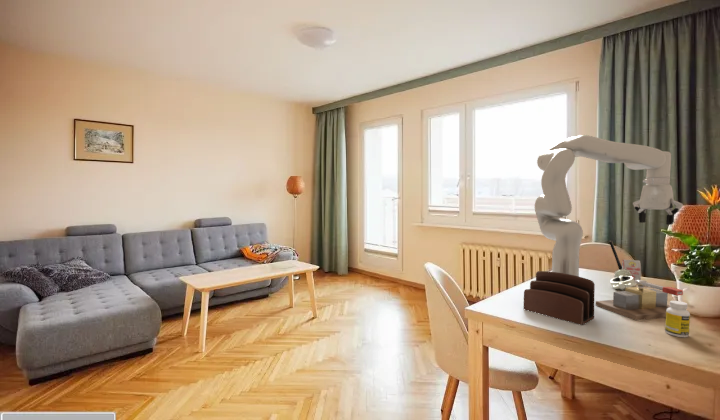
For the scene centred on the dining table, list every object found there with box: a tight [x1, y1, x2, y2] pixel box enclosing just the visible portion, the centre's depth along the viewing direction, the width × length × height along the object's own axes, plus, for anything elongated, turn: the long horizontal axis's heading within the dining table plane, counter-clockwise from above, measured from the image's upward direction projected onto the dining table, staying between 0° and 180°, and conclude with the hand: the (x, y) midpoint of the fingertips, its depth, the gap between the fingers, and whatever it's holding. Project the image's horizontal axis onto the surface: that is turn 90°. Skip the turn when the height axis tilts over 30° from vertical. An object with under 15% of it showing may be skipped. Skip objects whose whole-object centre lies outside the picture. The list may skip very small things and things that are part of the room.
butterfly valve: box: [609, 240, 636, 290], centre depth 160 cm, size 9×20×17 cm
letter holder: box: [523, 270, 596, 326], centre depth 126 cm, size 10×20×14 cm, turn 38°
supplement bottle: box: [664, 300, 691, 338], centre depth 108 cm, size 5×5×10 cm
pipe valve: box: [612, 285, 669, 310], centre depth 129 cm, size 18×6×8 cm, turn 102°
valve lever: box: [635, 279, 684, 297], centre depth 124 cm, size 15×3×2 cm, turn 12°
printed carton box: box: [621, 259, 642, 281], centre depth 170 cm, size 4×7×10 cm, turn 64°
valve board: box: [595, 299, 671, 321], centre depth 130 cm, size 22×16×2 cm
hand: (655, 223), depth 148 cm, fingers open, 9 cm apart
